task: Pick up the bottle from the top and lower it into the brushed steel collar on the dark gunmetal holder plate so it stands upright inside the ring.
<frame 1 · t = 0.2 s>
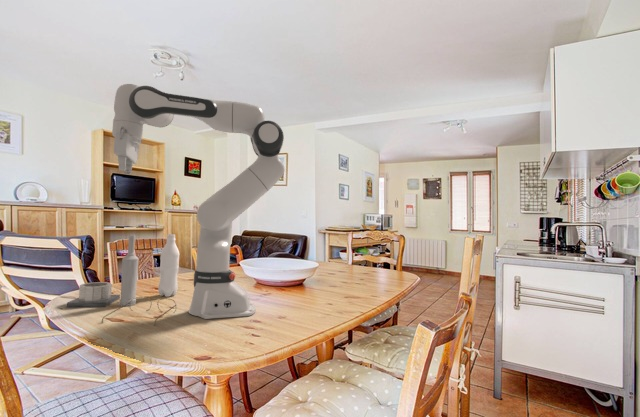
hand: (125, 172, 110), 47 cm above the table, tool pointing down, fingers open, 8 cm apart
water bottle: (167, 295, 132), on the table
collar holder: (94, 302, 117), on the table
eyeglasses: (142, 319, 103), on the table
bottle: (127, 305, 116), on the table
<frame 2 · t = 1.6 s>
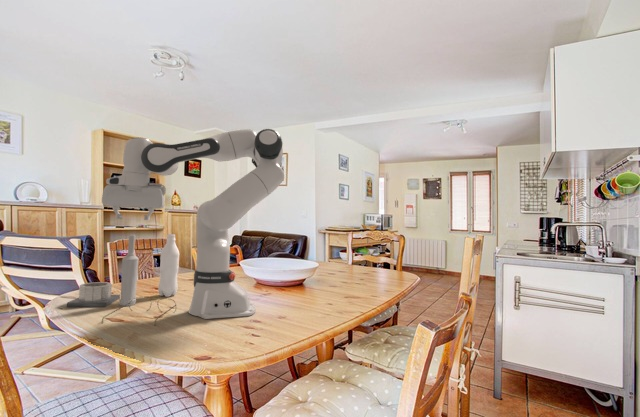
hand: (132, 219, 118), 31 cm above the table, tool pointing down, fingers open, 8 cm apart
nothing on the table moved.
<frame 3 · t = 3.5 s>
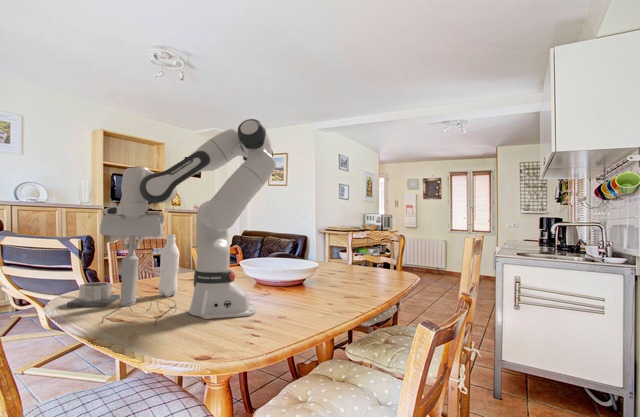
hand: (131, 248, 117), 20 cm above the table, tool pointing down, fingers closed on bottle, 2 cm apart
bottle: (127, 305, 116), on the table, touching gripper
everything else where it was.
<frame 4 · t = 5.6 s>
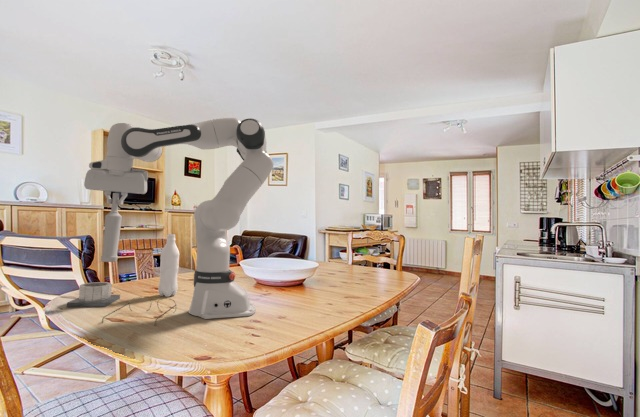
hand: (114, 204, 119), 36 cm above the table, tool pointing down, fingers closed on bottle
bottle: (109, 261, 118), point 15 cm above the table, touching gripper
everything else where it was.
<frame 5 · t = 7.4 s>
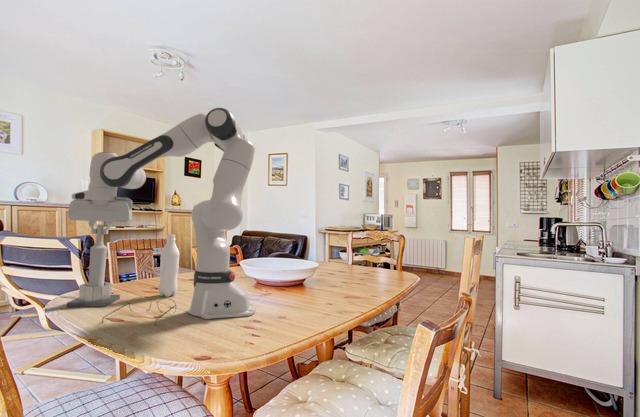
hand: (99, 233, 118), 25 cm above the table, tool pointing down, fingers closed on bottle, 2 cm apart
bottle: (95, 293, 117), point 3 cm above the table, touching gripper
everything else where it was.
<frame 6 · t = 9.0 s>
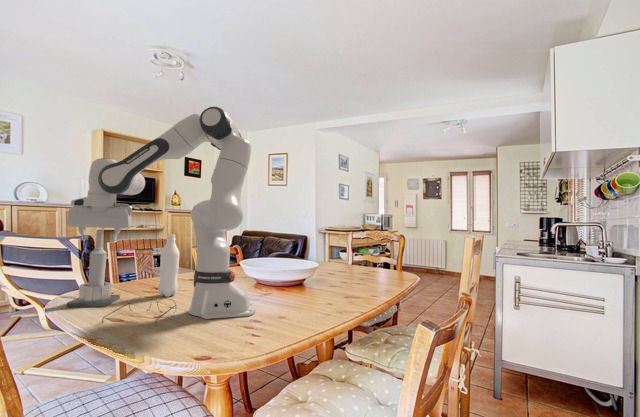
hand: (99, 240, 118), 23 cm above the table, tool pointing down, fingers open, 8 cm apart
bottle: (95, 298, 117), point 1 cm above the table, touching collar holder
everything else where it was.
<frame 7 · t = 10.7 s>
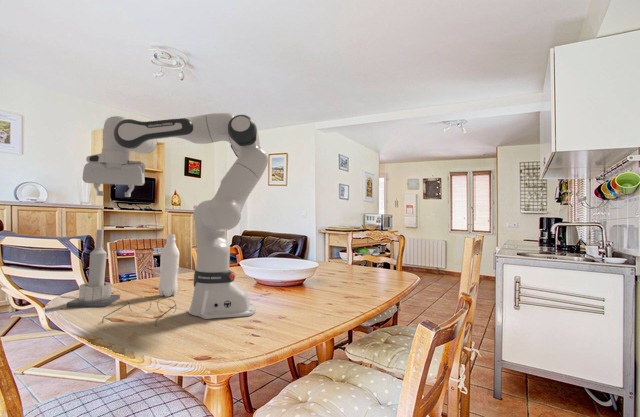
hand: (113, 196, 122), 39 cm above the table, tool pointing down, fingers open, 8 cm apart
nothing on the table moved.
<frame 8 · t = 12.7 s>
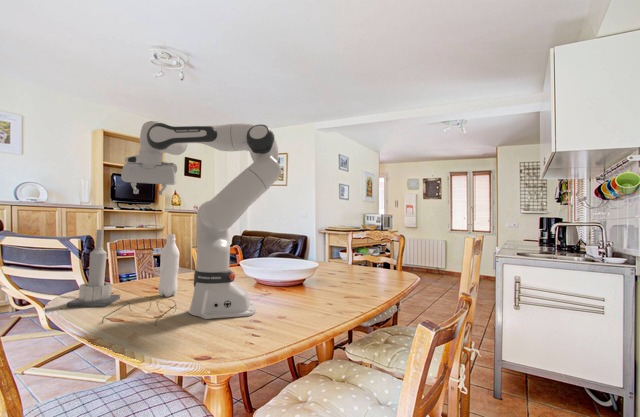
hand: (148, 194, 133), 41 cm above the table, tool pointing down, fingers open, 8 cm apart
nothing on the table moved.
at the end: bottle 0.1 cm off-centre on the collar holder, point 1.3 cm above the collar holder's base; bottle tilted 0°; the gripper is holding nothing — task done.
